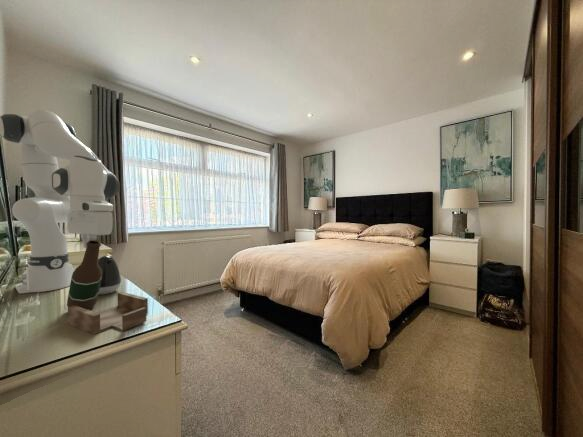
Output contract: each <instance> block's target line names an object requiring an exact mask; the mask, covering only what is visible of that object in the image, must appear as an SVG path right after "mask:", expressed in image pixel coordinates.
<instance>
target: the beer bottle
mask: <svg viewBox="0 0 583 437" xmlns="http://www.w3.org/2000/svg"><path fill="white" fill-rule="evenodd" d="M86 245H87V248H85V252H84V256H83V259H82V262H81V263H80V265H78V266H77V267H76V268H75V269H74V270H73V274H72V278H71V283H70V286H69V290H68V295H67V301H66V306H67V308H68V307H69V306H73V305H75V306H78V307H81V308H84V309H87V310H92V309H93V307H95V305H96V304H97V301H98V298H99V295H100V294H99V289H100V284H101V280H102V273H103V272H102V269H101V267H100V266H99V265H98V259H99V258H100V257H99V255H100V253H99V252H100V247H101V246H102V243H101V242H100V241H99V240H94V241H89V242H87V244H86Z"/></svg>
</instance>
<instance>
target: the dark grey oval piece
mask: <svg viewBox="0 0 583 437" xmlns="http://www.w3.org/2000/svg"><path fill="white" fill-rule="evenodd" d="M98 265H99V266H100V267H101V269H102V272H103V273H102V280H101V284H100V289H99V294H98V295H99V296H100V295H109V294H112V293H115V291H117V290H119V288H120V285H121V283H122V277H121V272H120V268H119V266H118V264H117V262H116V260H115V259H114V258H113V257H112V256H110V255H103V256H100V257H98Z"/></svg>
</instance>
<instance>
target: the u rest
mask: <svg viewBox="0 0 583 437" xmlns="http://www.w3.org/2000/svg"><path fill="white" fill-rule="evenodd" d="M148 305H149V302H148V297H144V296H140V295H136V294H132V293H128V292H124V291H120V292H117V305H116V306H114V307H111V308H107V309H104V310H101V311H98V312H96V311H92V310H91V309H89V310H87V309H84V308H81V307H78V306H75V305H73V306H69V307H68V306H67V324H68V325H70V326H72V327H75V328H77V329H80V330H81V331H84V332H87V333H89V334H91V335H93V336H94V335H96V334H100V333H102V332H105V331H107V330H109V329H116V330H118V331H121V332H124V331H127V330H129V329H131V328H132V329H133V328H134V327H136V326H139V325H141V324H143V322H144V323H145V322H147V314H146V313H148V314H149V308H148V307H149V306H148Z"/></svg>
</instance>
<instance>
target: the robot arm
mask: <svg viewBox="0 0 583 437" xmlns="http://www.w3.org/2000/svg"><path fill="white" fill-rule="evenodd" d="M0 135H1V137H2V138H3V139H4V140H6V141H8V142H11V143H14V144H15V143H16V144H21V146H20V163H21V169H22V174H23V180H24V184H25V186H26V187H27V188H29V189H30V190H31V191H32V192H33V193H34V194H35V195H36V196H33V197H27V198H21V199H18V200H17V201H16V202H14V204H13V205H12V208H11V213H12V216H13V218H15V219H16V220H17V221H19V222H20V223H21V224H22V225H23V226H24V227H25V229H26V232H27V233H28V236H29V239H30V256H29V259H28V265H29V266H28V267H27V268H26V270H24V271H23V273H22V274H20V275H18V277H17V278H18V279H17V280H18V281H19V282H21V281H22V282H21V283H17V284H15V285H14V287H15V289H16V291H17V293H18V294H29V293H42V292H49V291H54V290H59V289H60V290H61V289H63V288H68V287H70V283H71V278H72V274H73V272H74V268H73V266H74V265H73V264H71V263H69V262H70V261H69V258H70V256H69V253H68V238H67V237H68V236H67V235H66V234H65V233H64V232H62V230H61V228H60V227H59V223H66V222H67V224H66V225H67V226H66V229H67V232H68V234H77V235H78V234H80V238H81V240H82V242H83V248H84V249H86V248H87V245H86V244H87V242H89V241H94V240H95V241H97V237H98V236H106V235H111V234H112V231H113V224H114V223H113V220H114V218H113V213H112V212H113V211H114V204H112V203H110V202H109V201H107V200H110V199H112V198H114V197H115V196H116V195H117V194H119V192H120V190H121V184H120V181H119V179H118V177H117V176H116V175H115V174H114V173H112V172H111V171H110V170H109V169H108V168H107V167H106V166H105V164H104V163H103V162H102V160H100V158H99V157H98V156H97V155H96V153H94V151H93V150H91V148H90V147H88V146H87V145H85V144H84V143H82V141H80V140H79V139H78V138H77V133H76V131H75V128H74V127H73V126H72V125H71V124H69V123H67V122H65V121H63V120H62V119H61V118H60V117H59V116H58V115H57V114H56V113H55V112H53V111H50V110H46V109H35V110H33V111H31V112H30V113H29V114H28V115H20V114H19V115H18V114H15V113H5V114H3V115H0ZM59 158H60V159H62V160H63V159H64V160H66V161H69V164H68V165H66V166H64V167H59V163H58V162H59V161H58V159H59Z"/></svg>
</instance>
